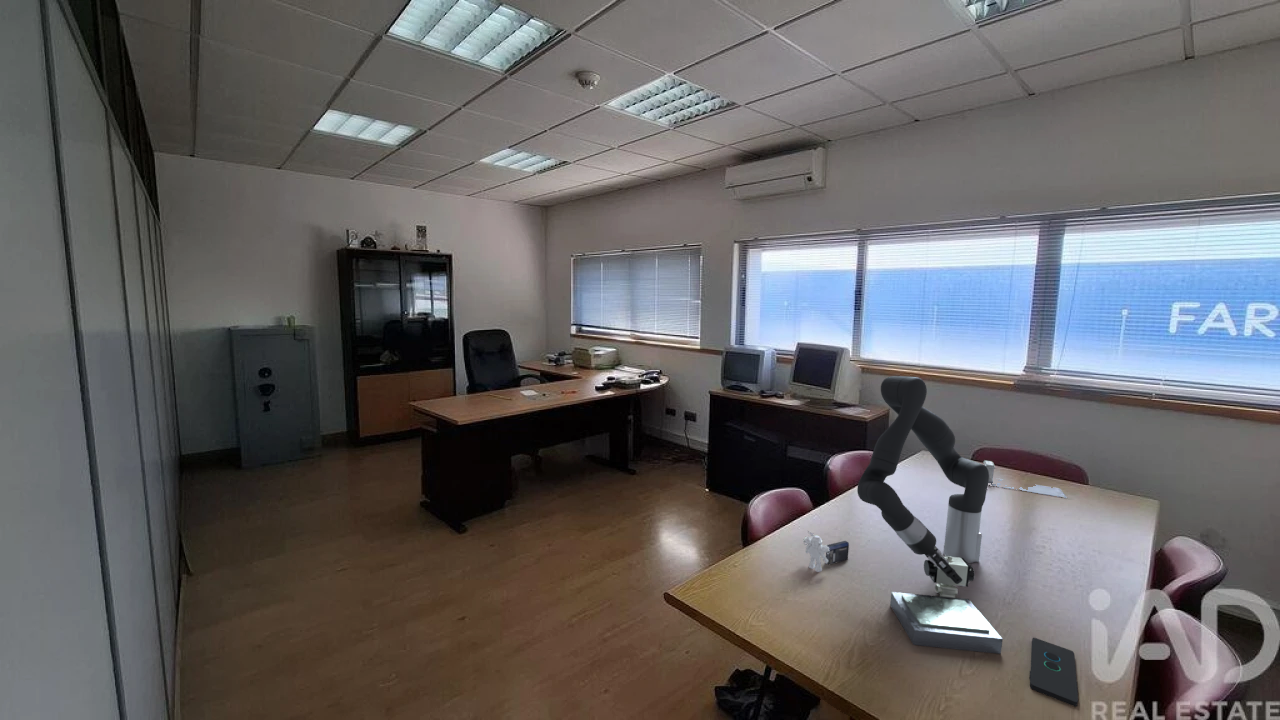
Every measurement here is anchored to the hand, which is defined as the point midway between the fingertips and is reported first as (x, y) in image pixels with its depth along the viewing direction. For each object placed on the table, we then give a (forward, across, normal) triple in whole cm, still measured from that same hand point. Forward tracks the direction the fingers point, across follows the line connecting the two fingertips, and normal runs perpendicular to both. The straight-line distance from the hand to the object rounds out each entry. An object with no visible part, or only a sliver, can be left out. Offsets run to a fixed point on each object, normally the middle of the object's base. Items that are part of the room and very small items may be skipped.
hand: (954, 575), depth 143 cm
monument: (+56, +96, -46) cm, 120 cm away
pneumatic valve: (+3, 0, +6) cm, 7 cm away
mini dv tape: (-16, +14, +25) cm, 33 cm away
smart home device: (+11, -28, -2) cm, 30 cm away
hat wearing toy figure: (-22, +8, +30) cm, 38 cm away
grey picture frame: (-3, -16, +11) cm, 20 cm away
